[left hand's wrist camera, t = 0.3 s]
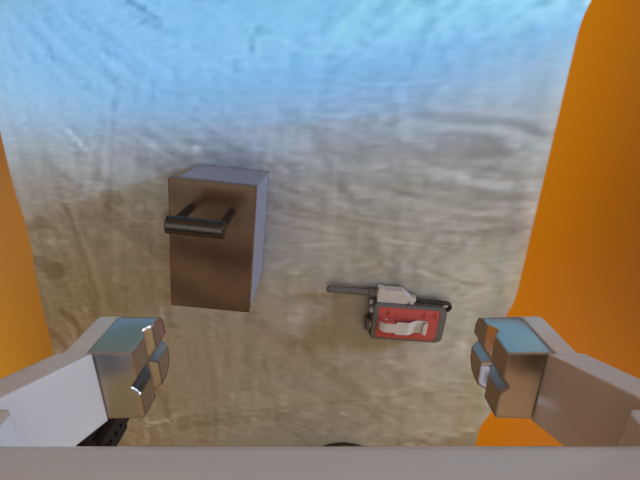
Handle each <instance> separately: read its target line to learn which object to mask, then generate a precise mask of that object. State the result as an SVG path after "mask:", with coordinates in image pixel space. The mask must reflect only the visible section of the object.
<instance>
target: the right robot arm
mask: <svg viewBox="0 0 640 480" xmlns="http://www.w3.org/2000/svg"><path fill="white" fill-rule="evenodd" d="M128 420H129V418H109V419H108V421H106V422H105V423H104V424H103V425H101V426H100V427H99V428H98V429H96V430H95V431H94V432H93V433H91V434H90V435H89V436H88V437H86V438H85V439H84V440H83V441H81V442H80V443H79V444H77V445H76V446H117V445H118V443H119V441H120V439H121V438H122V436H123V434H124V432H125V431H126V429H127V422H128ZM328 446H358V445H354V444H348V443H338V444H331V445H328Z"/></svg>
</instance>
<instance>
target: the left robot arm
mask: <svg viewBox="0 0 640 480" xmlns="http://www.w3.org/2000/svg"><path fill="white" fill-rule="evenodd" d="M165 333H166V331H165V326H164V321H163V320H162V319H161V318H160V317H120V316H116V317H100V318H98V319H97V320H96V321H95V322H94V323H93V324H92V325H91V326H90V327H89V328H88V329H87V330H86V331H85V332H84V333H83V334H82V335H81V336H80V337H79V338H78V339H77V340H76V341H75V342H74V343H73V344H72V345H71V346H70V347H69V348H68V349H67V350H66V351H65V352H64V353H63V354H55V355H53V356H51V357H48V358H46V359H44V360H42V361H39V362H37V363H35V364H33V365H31V366H28V367H26V368H24V369H22V370H20V371H17V372H15V373H13V374H11V375H9V376H6V377H4V378H2V379H0V480H640V379H638V378H636V377H634V376H631V375H629V374H627V373H625V372H623V371H620V370H618V369H616V368H614V367H612V366H609V365H607V364H605V363H603V362H600V361H598V360H596V359H594V358H592V357H589V356H587V355H585V354H577V353H576V352H575V351H574V350H573V349H572V348H571V347H570V346H569V345H568V344H567V343H566V342H565V341H564V340H563V339H562V338H561V337H560V336H559V335H558V334H557V333H556V332H555V331H554V330H553V329H552V328H551V327H550V326H549V325H548V324H547V323H546V322H545V321H544V320H543V319H542V318H540V317H538V316H532V317H501V318H478V320H477V322H476V325H475V331H474V333H475V334H476V336H477V337H478V339H479V340H478V341H477V342H476V343H475V344H474V345H473V346H472V350H471V369H472V372H473V375H474V378H475V380H476V382H477V384H479V385H480V386H482V387H483V388H485V389H486V391H485V399H486V400H487V402H488V404H489V406H490V408H491V410H492V411H493V413H494V415H495V417H496V418H531V419H532V421H534V422H535V423H536V424H537V425H539V426H540V427H541V428H542V429H544V430H545V431H546V432H548V433H549V434H550V435H551V436H553V437H554V438H555V439H556V440H558V441H559V442H560V443H561V444H563V445H564V446H76V445H77V444H79V443H80V442H81V441H83V440H84V439H85V438H86V437H88V436H89V435H90V434H91V433H93V432H94V431H95V430H96V429H98V428H99V427H100V426H101V425H103V424H104V423H105V422H106V421H108V419H109V418H144V417H145V415H146V413H147V412H148V410H149V408H150V406H151V404H152V402H153V400H154V399H155V391H154V389H155V388H157V387H158V386H160V385H161V384H163V382H164V380H165V378H166V376H167V372H168V367H169V349H168V346H167V345H166V344H165V343H164V342H163V341H162V340H161V339H162V337H163V336H164V334H165Z"/></svg>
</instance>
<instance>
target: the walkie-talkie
mask: <svg viewBox="0 0 640 480" xmlns="http://www.w3.org/2000/svg"><path fill="white" fill-rule="evenodd" d="M327 291H328V292H331V293H344V294H357V295H369V296H374V297H373V298H372V299H369V304H372V306H371V307H369V312H371V313H370V318H369V317H366V318H365V330H369V334H370V337H371V338H376V339H390V340H405V341H406V340H408V341H418V342H419V341H421V342H431V343H433V342H435V343H436V342H438V341H440V340H441V338H442V334H443V329H444V325H445V321H446V316H447V312H449V311H450V310H451V309H452V305H451V304H450V303H449V302H447V301H439V300H438V301H436V300H426V299H425V300H423V299H419V298H418V297H415V295H411V294H409V293H408V292H407V291H406V290H405V289H404V288H402V287H397V286H384V285H382V284H377V288H369V289H365V288H353V287H335V286H328V287H327ZM443 305H448V308H444V307H443Z"/></svg>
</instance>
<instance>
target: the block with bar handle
mask: <svg viewBox="0 0 640 480" xmlns="http://www.w3.org/2000/svg"><path fill="white" fill-rule="evenodd" d="M168 183H169V215H168V216H167V217H166V219H165V223H164V229H165V232H166V233H168V234H170V267H171V305H179V306H189V307H199V308H210V309H220V310H230V311H241V312H249V311H250V308H251V290H252V272H253V255H254V237H255V220H256V202H257V185H252V184H243V183H234V182H225V181H216V180H207V179H197V178H188V177H179V176H171V177H169V178H168Z"/></svg>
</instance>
